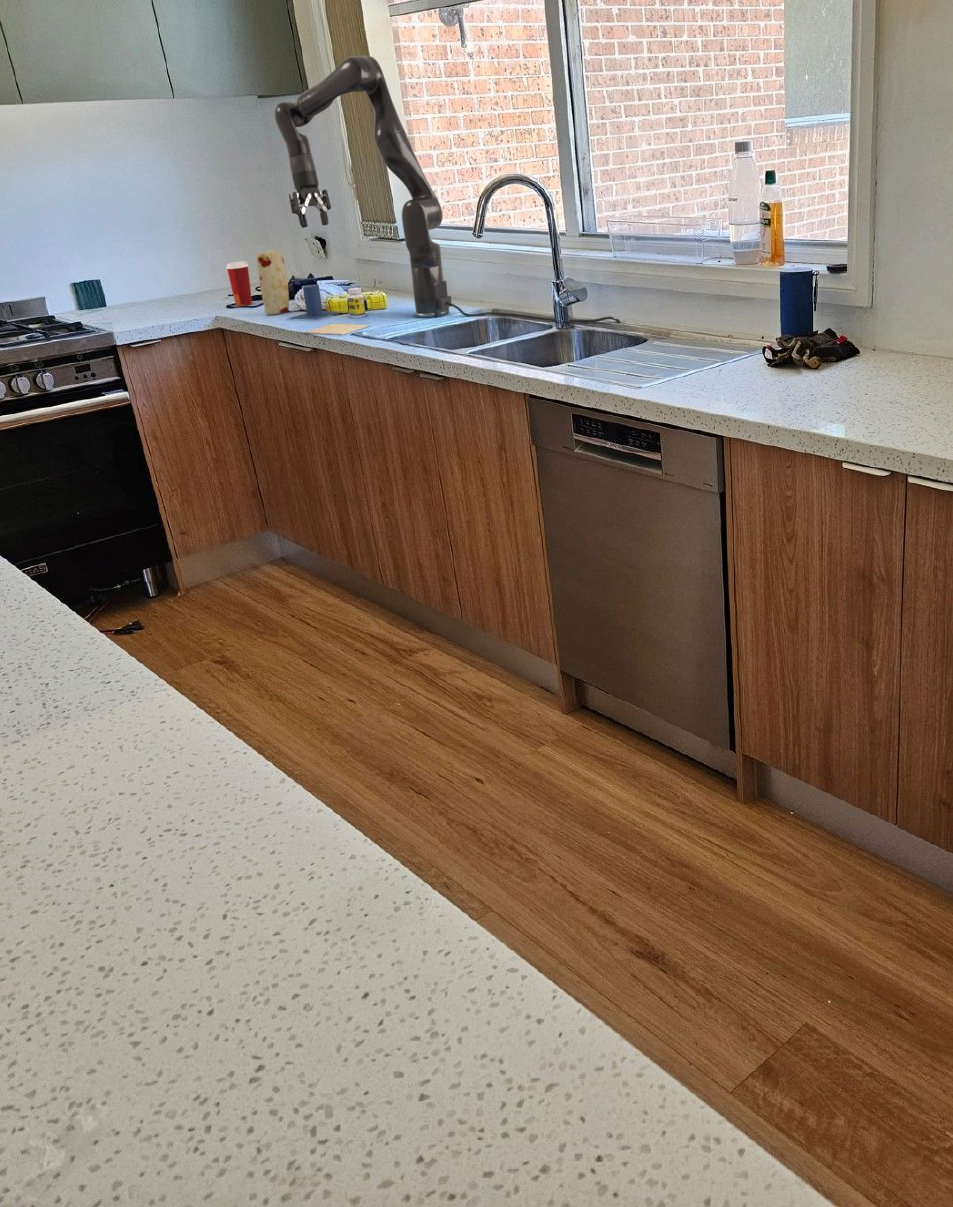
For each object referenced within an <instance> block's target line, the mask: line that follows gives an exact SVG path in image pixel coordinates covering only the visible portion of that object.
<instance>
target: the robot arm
mask: <svg viewBox="0 0 953 1207" xmlns="http://www.w3.org/2000/svg"><path fill="white" fill-rule="evenodd" d="M353 92H354V93H365V95H366V96H367V98H368V100H369V103H370V105H371V108H372V111H373V139H374V143H375V146H376V148H377V150H378V152H379V156H380V157H381V159H382V161H383V163H384V164H385V166H386V167H387V168H388V169H389V170H390V172H392V174H394V176H396V177H397V179H399V180H400V181H401V182H402V184H403V185H404V186H405V188H406V189H407V191H408V193H409V194H410V197H411V199H409V200H407V201H406V202H404V204H403V206H402V210H401V222H402V230H403V236H404V241H405V246H406V249H407V251H408V255H409V262H410V270H411V271H410V273H411V280H412V288H413V289H412V290H413V298H414V299H413V301H414V306H415V307H414V309H415V317H417V318H433V317H434V318H438V317H442V316H445V315H447V314H450V307H453V308H454V309H456V310H458V311H459V312H460V314H461V315H462V316H465V317H481V316H488V315H492V316H494V315H495V316H496V315H497V316H508V317H509V316H510V317H520V318H524V319H525V318H526V319H533V320H540V321H541V320H542V321H549V322H550V321H551V322H557V321H556V319H557V318H556V319H555V318H554V317H545V316H536V315H529V314H521V313H513V312H499V311H487V312H480V313H467V312H465V311H464V310H462V309H461V307H459V306H458V305H457V304H454V303H452V296H451V295H448V286H447V285H448V284H447V280H444V272H443V263H442V262H443V261H442V254H441V253H442V251H441V245H440V244H439V243H437V242H435V241H433V240H432V238H431V235H430V231H431V230H435V229H437V228H439V227H440V226H441V224H442V222H443V216H444V215H443V209H442V206H441V204H440V201H439V199H438V198H437V195H436V194H435V192H434V190H433V188H432V186H431V185H430V183H429V181H428V179H427V177H426V175H425V174H424V172H423V169H422V166H421V164H420V162H419V160H418V159H417V156H416V154H415V152H414V149H413V147H412V144H411V141H410V139H409V137H408V134H407V132H406V130H405V128H404V126H403V124H402V122H401V119H400V116H399V114H398V112H397V109H396V107H395V104H394V103H393V100H392V97H391V93H390V90H389V88H388V84H387V81H386V78H385V75H384V72H383V70H382V67H381V64H379V62H378V61H377V59H376V58H375V57H373V56H371V55H353V56H348V57H347V58H345V59H344V60H343V61H341V63H340V64H339V65H338V66H337V67H336V68H334V70H332V71H331V73H329V74H328V75H327V76H326V77H325V78H324V79H322V80H321V81H319V82H318V83H316V84H315V85H314V86H312V87H310V88H308V89H307V90H305V91H303V92H302V93H301V94H300V95H299V96H298V97H297V100H296V101H282V102H278V103H277V104H276V106H275V109H274V121H275V123H276V126H277V128H278V130H279V133H280V134H281V137H282V139H283V141H284V143H285V146H286V150H287V155H288V158H289V168H290V173H291V177H292V181H293V182H292V183H293V186H294V189H295V190H296V191H293V192H290V193H288V199H289V204H290V210H291V213H292V214H293V215H294V214H295V215H297V216H298V221H299V225H300V226H301V228H303V229H304V228H305V229H306V228H308V226H309V225H308V220H307V217H306V214H305V213H306V209H308V207H314V208H315V209H317V210H318V212H319V218H320V220H321V225H322V226H327V225H329V216H328V211H329V210H331V209H332V205H331V201H330V197H329V192H328V190H327V189H322V190H320V189H319V178H318V174H317V170H316V165H315V161H314V157H313V155H312V154H313V153H312V150H311V145H310V141H309V138H308V136H307V135H306V134H303V133H300V132H299V130H298V129H297V128H302V127H304V126H306V125H308V124H309V123H310V122H311V121H312V120H313V118H315V116H317V115H319V114H320V113H323V112H324V111H326V110H327V109H329V107H331V106H332V104H333V103H334V102H335V100H336V99H337V98H338V97H340V96H343V95H345V94H349V93H353ZM613 317H614V316H604V317H599V318H593V319H591V318H589V319H587V318H585V319H584V318H583V319H581V318H580V319H579V318H576V319H575V318H570V319H571V320H569V321H570V322H569V323H597V322H602V321H604V320H605V321H606V320H612V321H615V322H616V323H618V324H622V322H621V320H620V319H619V318H617V319H614V318H613Z"/></svg>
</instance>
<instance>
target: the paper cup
mask: <svg viewBox="0 0 953 1207" xmlns="http://www.w3.org/2000/svg"><path fill="white" fill-rule="evenodd" d="M225 269H226V271H227V273H228V275H227V276H228V278H229V283H230V287H231V291H232V295H233V296H232V297H233V300H234V303H235V306H236V307H244V306H245V307H246V306H250V305H252V304H253V299H252V290H251V282H250V273H249V272H250V271H249V264H248V262H247V261H244V260H241V261H233V262H228V263H227V264H226V267H225Z"/></svg>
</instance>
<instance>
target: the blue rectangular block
mask: <svg viewBox="0 0 953 1207" xmlns="http://www.w3.org/2000/svg"><path fill="white" fill-rule="evenodd" d="M302 291H303V299H304V305H305V311H306V313H307V316H308V317H315V316H321V315H323V311H324V310H323V305H322V299H321V291H320V285H319V284H307V285H303V286H302Z"/></svg>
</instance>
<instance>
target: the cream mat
mask: <svg viewBox="0 0 953 1207" xmlns="http://www.w3.org/2000/svg"><path fill="white" fill-rule="evenodd" d="M367 327H369V324H354V323H353V324H351V323H329V324H327V325H323V326H321V327H317V328H313V329H310V330H308V331H305V333H306V334H316V335H317V334H318V335H320V334H321V335H338V336H343V335H346V334H349V333H352V332H355V331H358V330H361V329H364V328H367Z"/></svg>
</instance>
